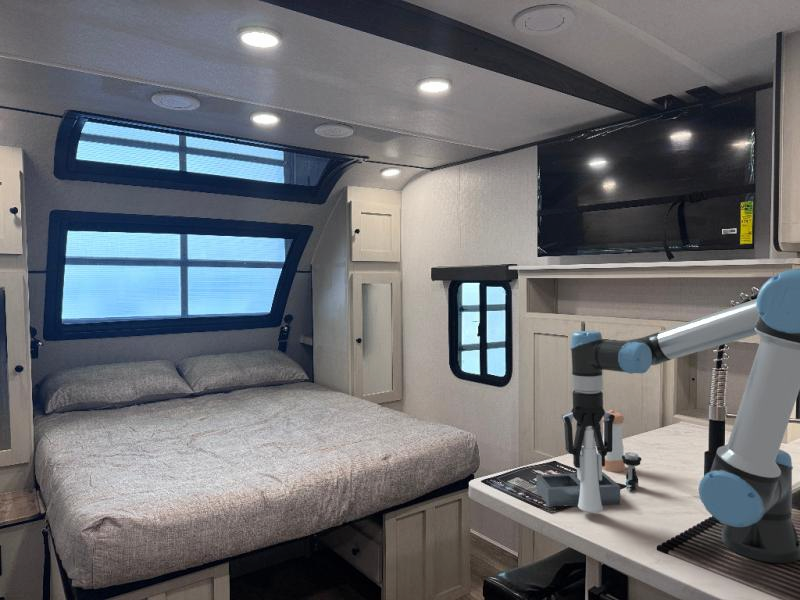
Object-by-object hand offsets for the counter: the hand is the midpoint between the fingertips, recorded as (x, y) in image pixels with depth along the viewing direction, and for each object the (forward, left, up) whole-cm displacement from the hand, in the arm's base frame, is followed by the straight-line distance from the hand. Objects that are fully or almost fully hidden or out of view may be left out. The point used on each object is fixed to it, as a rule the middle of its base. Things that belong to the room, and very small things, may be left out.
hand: (589, 478), depth 142 cm
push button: (+16, -19, -10) cm, 27 cm away
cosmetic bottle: (0, 0, -8) cm, 8 cm away
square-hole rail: (+11, -1, -10) cm, 15 cm away
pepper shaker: (+33, -21, -10) cm, 40 cm away
